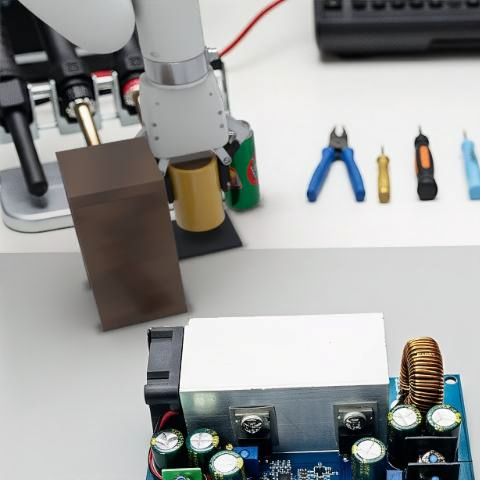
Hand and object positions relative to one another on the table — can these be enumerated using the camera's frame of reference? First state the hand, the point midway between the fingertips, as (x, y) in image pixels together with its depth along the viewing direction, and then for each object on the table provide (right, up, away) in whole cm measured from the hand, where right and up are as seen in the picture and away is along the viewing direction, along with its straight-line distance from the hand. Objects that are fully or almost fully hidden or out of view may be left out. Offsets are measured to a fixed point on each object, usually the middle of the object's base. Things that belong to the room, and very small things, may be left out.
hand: (196, 191), depth 132 cm
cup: (0, -3, +3) cm, 4 cm away
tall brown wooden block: (-6, -15, -5) cm, 17 cm away
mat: (0, -5, +5) cm, 7 cm away
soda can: (+5, +1, +11) cm, 12 cm away
